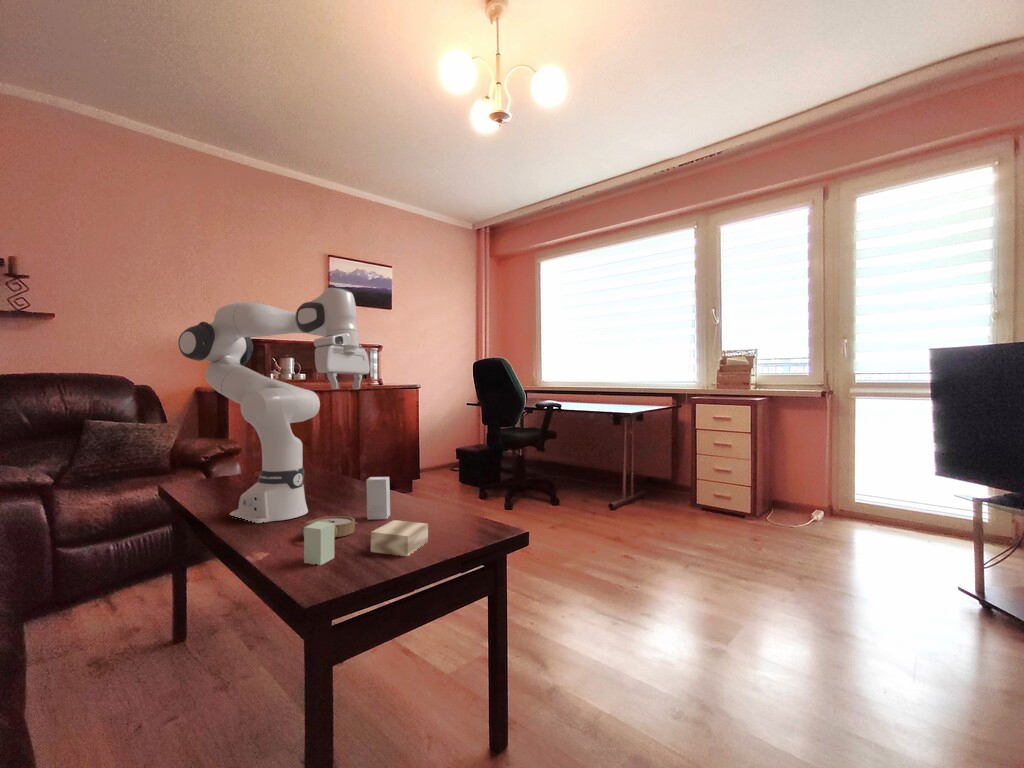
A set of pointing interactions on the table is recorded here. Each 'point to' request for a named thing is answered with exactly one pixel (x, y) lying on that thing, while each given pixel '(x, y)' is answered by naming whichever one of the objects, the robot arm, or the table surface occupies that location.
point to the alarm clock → (336, 524)
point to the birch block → (399, 537)
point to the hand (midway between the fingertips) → (346, 389)
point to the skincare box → (378, 498)
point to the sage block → (319, 543)
